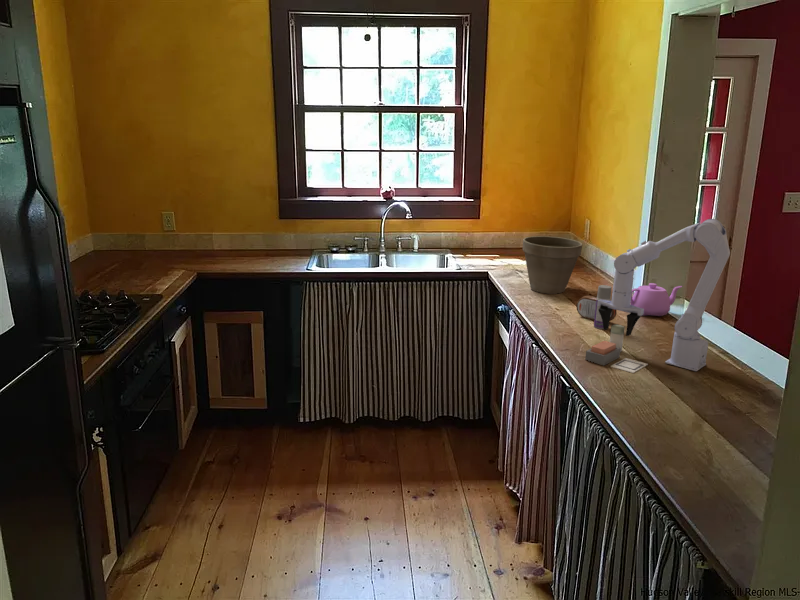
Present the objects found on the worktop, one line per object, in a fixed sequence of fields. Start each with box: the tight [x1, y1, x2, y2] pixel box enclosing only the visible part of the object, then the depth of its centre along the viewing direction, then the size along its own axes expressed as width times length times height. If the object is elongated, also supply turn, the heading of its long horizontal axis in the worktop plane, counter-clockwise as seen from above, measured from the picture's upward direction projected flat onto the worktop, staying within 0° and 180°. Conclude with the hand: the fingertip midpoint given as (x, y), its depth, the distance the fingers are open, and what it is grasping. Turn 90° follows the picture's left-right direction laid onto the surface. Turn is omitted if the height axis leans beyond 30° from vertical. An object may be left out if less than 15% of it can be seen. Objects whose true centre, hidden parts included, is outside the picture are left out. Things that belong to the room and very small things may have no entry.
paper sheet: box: [610, 357, 649, 374], centre depth 194 cm, size 7×10×1 cm
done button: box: [590, 340, 616, 355], centre depth 198 cm, size 4×8×2 cm, turn 136°
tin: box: [576, 295, 618, 322], centre depth 238 cm, size 15×3×8 cm, turn 47°
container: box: [593, 284, 613, 330], centre depth 228 cm, size 5×5×15 cm
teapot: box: [630, 282, 683, 317], centre depth 248 cm, size 20×13×12 cm, turn 89°
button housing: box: [584, 347, 621, 366], centre depth 199 cm, size 6×10×3 cm, turn 136°
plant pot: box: [522, 235, 583, 295], centre depth 277 cm, size 25×25×22 cm
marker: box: [609, 324, 625, 353], centre depth 206 cm, size 4×4×8 cm
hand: (617, 332), depth 205 cm, fingers open, 7 cm apart
